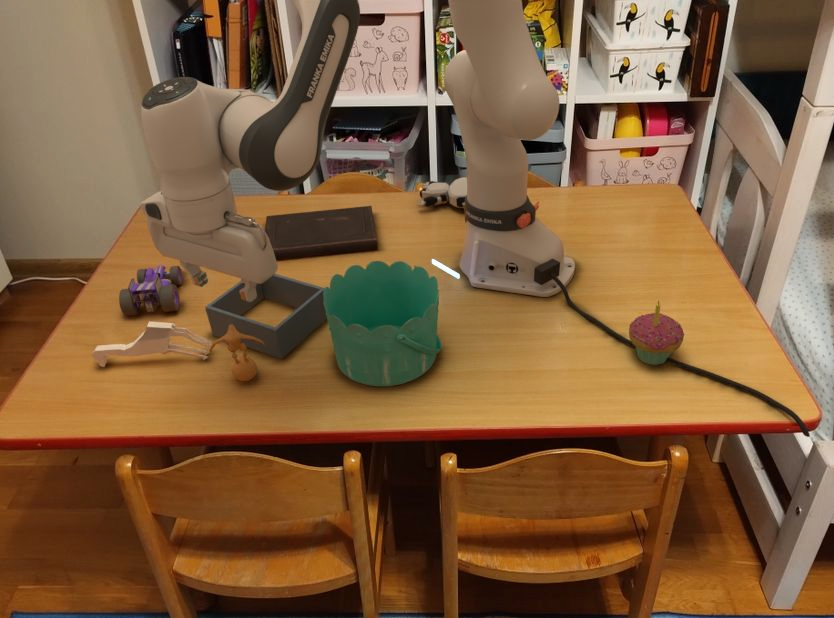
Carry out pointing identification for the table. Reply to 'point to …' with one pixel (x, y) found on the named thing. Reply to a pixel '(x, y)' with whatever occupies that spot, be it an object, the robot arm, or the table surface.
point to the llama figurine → (152, 343)
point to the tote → (274, 338)
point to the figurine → (241, 366)
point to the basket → (383, 322)
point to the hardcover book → (321, 232)
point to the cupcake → (655, 336)
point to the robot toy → (444, 193)
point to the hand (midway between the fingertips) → (224, 291)
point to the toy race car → (152, 291)
